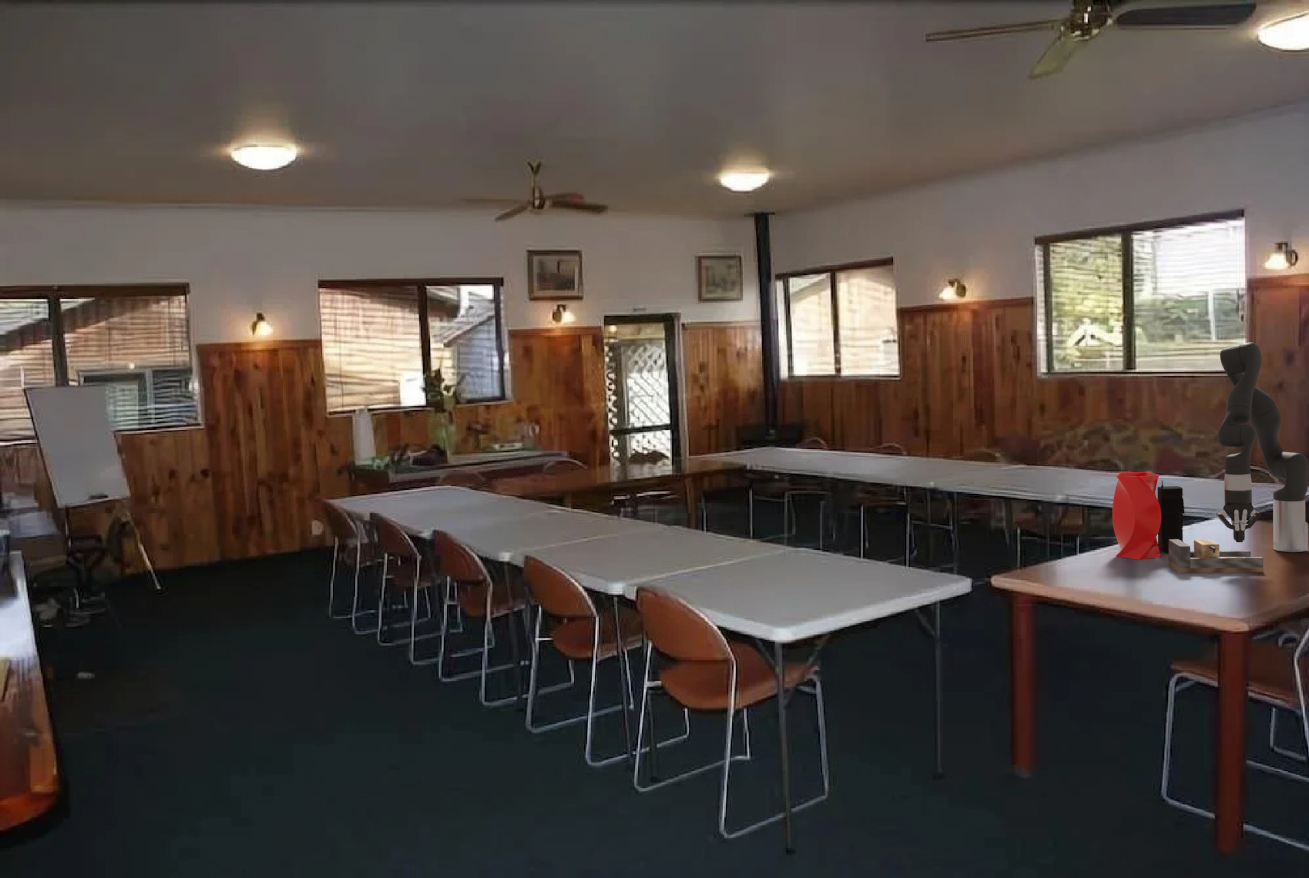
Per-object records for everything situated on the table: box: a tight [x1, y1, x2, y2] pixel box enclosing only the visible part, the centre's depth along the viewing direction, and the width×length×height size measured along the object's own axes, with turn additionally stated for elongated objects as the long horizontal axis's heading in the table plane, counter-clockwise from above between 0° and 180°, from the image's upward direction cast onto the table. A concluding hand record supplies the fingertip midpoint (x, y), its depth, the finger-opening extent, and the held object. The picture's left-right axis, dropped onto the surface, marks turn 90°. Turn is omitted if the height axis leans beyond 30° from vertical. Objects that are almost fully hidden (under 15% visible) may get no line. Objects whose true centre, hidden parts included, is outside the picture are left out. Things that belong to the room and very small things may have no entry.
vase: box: [1111, 471, 1162, 560], centre depth 357 cm, size 15×14×28 cm
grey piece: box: [1168, 539, 1264, 574], centre depth 332 cm, size 24×12×8 cm, turn 79°
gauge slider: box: [1193, 539, 1220, 558], centre depth 330 cm, size 5×12×7 cm, turn 169°
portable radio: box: [1156, 480, 1186, 554], centre depth 359 cm, size 8×6×25 cm
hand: (1239, 541), depth 330 cm, fingers closed
